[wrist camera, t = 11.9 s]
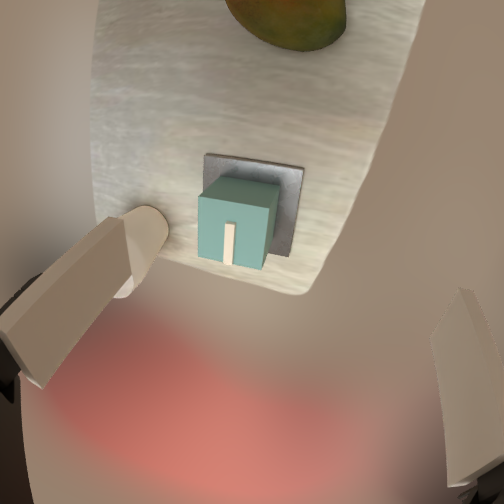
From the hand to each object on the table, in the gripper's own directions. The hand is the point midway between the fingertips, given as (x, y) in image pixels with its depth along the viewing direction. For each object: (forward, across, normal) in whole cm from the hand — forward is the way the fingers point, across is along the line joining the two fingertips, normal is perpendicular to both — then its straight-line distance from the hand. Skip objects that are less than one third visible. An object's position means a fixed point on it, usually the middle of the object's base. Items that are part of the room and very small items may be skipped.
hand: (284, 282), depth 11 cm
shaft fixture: (+27, -7, -10) cm, 29 cm away
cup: (+27, -22, -16) cm, 38 cm away
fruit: (+27, -4, +16) cm, 31 cm away
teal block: (+26, -7, -10) cm, 28 cm away
